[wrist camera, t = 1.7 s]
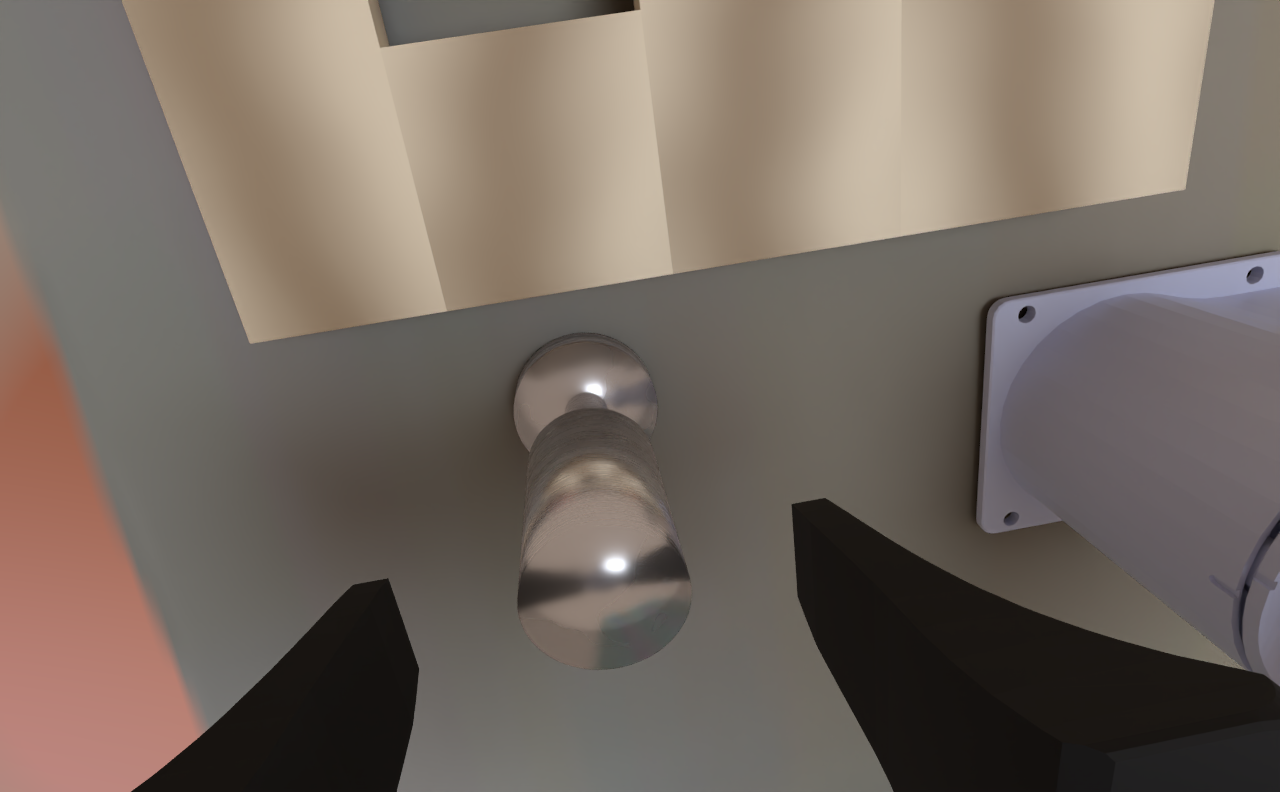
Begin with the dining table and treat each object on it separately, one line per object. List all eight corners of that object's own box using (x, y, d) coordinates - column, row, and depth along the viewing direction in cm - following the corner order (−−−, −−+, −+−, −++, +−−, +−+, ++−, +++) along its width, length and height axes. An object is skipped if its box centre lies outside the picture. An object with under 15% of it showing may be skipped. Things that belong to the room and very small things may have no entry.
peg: (643, 322, 20) (707, 479, 12) (661, 447, 22) (730, 667, 13) (501, 345, 20) (462, 524, 11) (530, 470, 21) (514, 709, 13)
